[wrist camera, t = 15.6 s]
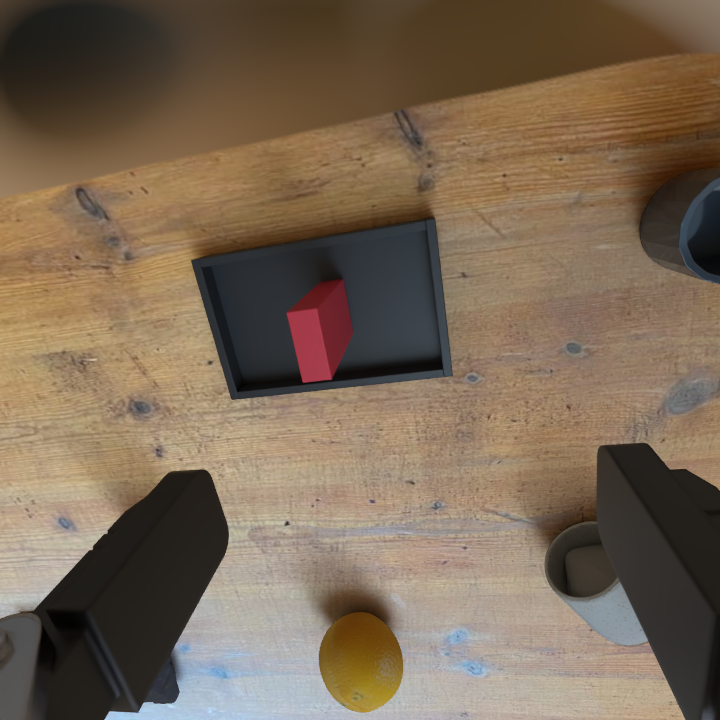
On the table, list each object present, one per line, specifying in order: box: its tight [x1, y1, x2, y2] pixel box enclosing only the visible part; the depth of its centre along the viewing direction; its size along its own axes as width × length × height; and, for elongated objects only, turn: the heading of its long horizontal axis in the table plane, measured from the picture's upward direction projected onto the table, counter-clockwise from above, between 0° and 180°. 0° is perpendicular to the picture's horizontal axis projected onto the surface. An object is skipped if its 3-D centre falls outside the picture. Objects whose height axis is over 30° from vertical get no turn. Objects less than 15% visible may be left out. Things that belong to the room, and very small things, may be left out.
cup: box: [640, 167, 720, 284], centre depth 30 cm, size 7×7×6 cm
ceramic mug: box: [545, 521, 649, 646], centre depth 39 cm, size 11×8×8 cm
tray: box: [191, 217, 453, 400], centre depth 37 cm, size 19×12×2 cm, turn 100°
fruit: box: [319, 612, 403, 712], centre depth 47 cm, size 9×8×8 cm
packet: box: [287, 279, 353, 382], centre depth 33 cm, size 2×5×10 cm, turn 10°
